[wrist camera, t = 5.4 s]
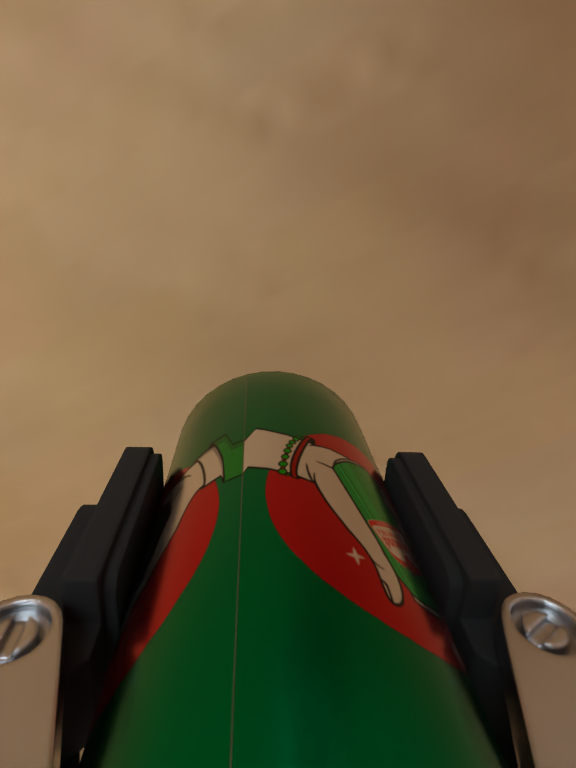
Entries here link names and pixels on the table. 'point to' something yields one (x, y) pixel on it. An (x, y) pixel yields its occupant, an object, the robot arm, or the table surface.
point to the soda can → (283, 607)
